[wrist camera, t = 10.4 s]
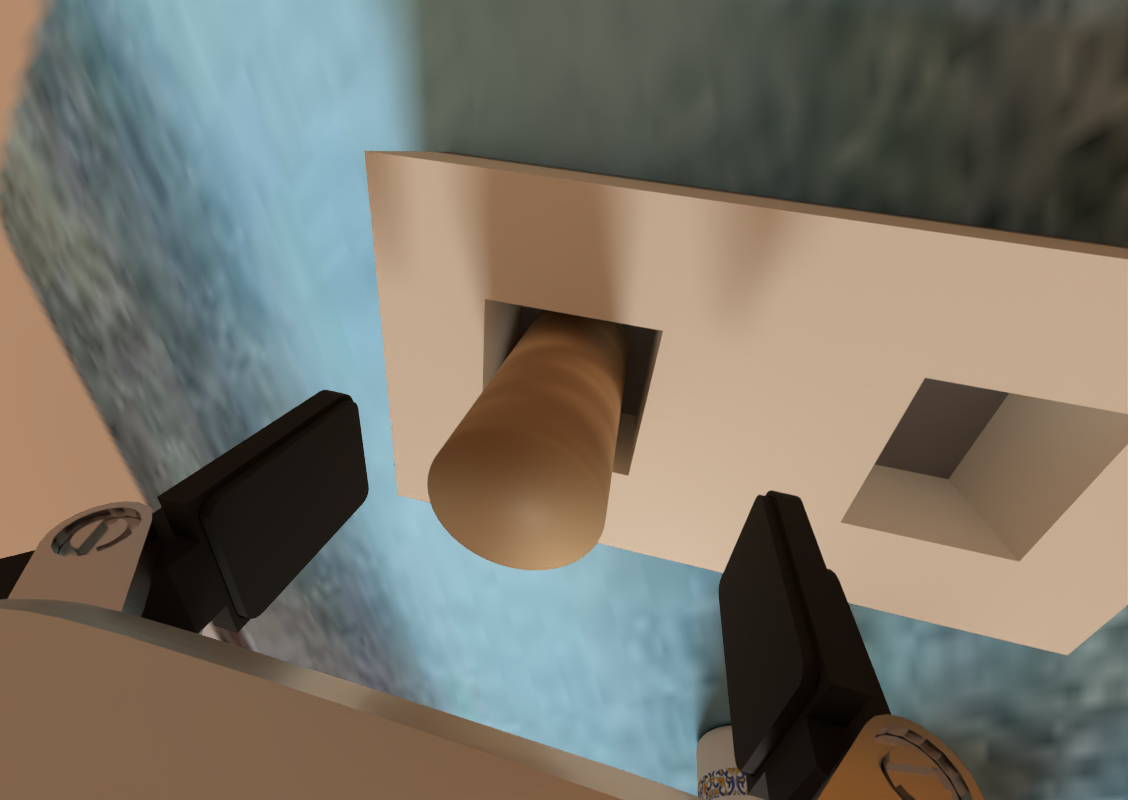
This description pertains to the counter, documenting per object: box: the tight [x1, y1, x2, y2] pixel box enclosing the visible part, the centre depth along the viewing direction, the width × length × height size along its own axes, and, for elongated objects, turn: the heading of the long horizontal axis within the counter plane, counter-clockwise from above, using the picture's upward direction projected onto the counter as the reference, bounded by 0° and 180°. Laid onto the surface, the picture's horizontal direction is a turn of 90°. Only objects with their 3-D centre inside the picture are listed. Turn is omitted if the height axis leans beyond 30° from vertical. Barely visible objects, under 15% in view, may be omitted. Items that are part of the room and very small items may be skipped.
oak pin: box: [427, 310, 629, 570], centre depth 14 cm, size 4×4×9 cm
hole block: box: [365, 151, 1128, 655], centre depth 15 cm, size 12×24×5 cm, turn 84°
